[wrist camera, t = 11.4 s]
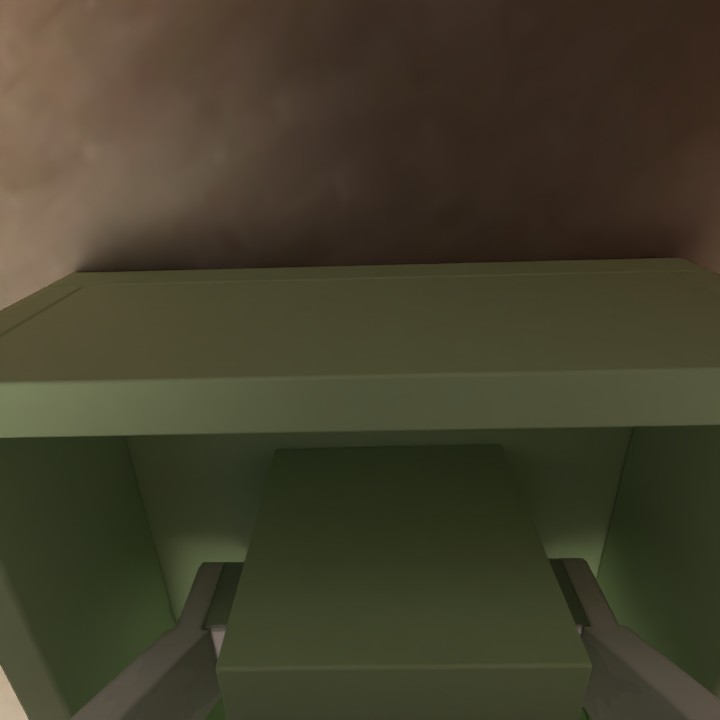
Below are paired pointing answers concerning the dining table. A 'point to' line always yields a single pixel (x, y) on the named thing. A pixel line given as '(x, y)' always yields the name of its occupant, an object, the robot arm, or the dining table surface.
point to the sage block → (398, 594)
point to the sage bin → (346, 434)
